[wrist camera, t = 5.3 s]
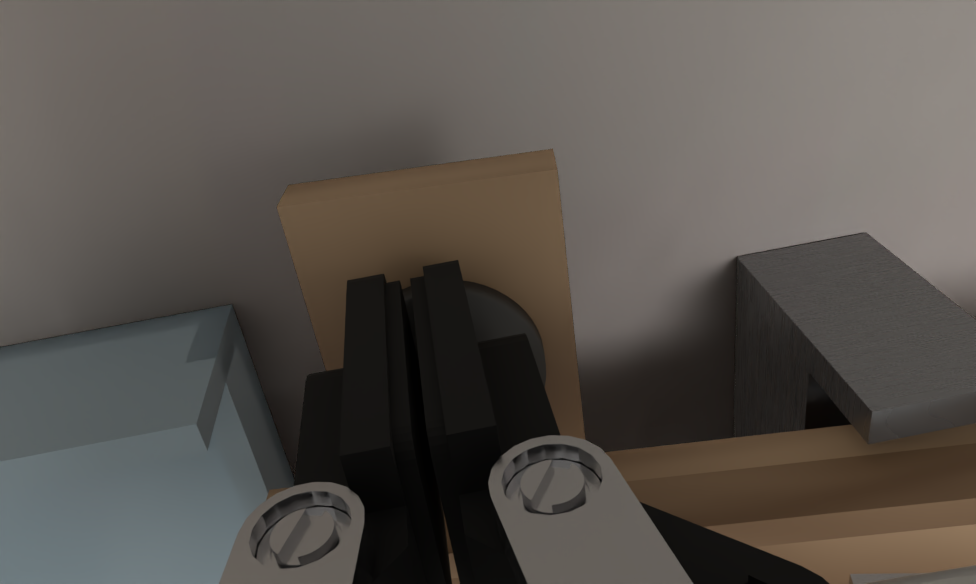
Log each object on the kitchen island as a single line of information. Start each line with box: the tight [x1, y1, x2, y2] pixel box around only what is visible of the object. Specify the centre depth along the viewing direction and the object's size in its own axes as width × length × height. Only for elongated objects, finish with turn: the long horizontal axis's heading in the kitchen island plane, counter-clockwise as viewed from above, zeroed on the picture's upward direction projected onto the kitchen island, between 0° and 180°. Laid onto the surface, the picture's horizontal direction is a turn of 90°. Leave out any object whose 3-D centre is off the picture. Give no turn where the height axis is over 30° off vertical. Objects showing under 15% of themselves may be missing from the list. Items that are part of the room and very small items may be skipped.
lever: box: [266, 149, 976, 584], centre depth 14 cm, size 13×24×4 cm, turn 98°
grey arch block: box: [734, 233, 976, 444], centre depth 18 cm, size 9×3×6 cm, turn 8°
